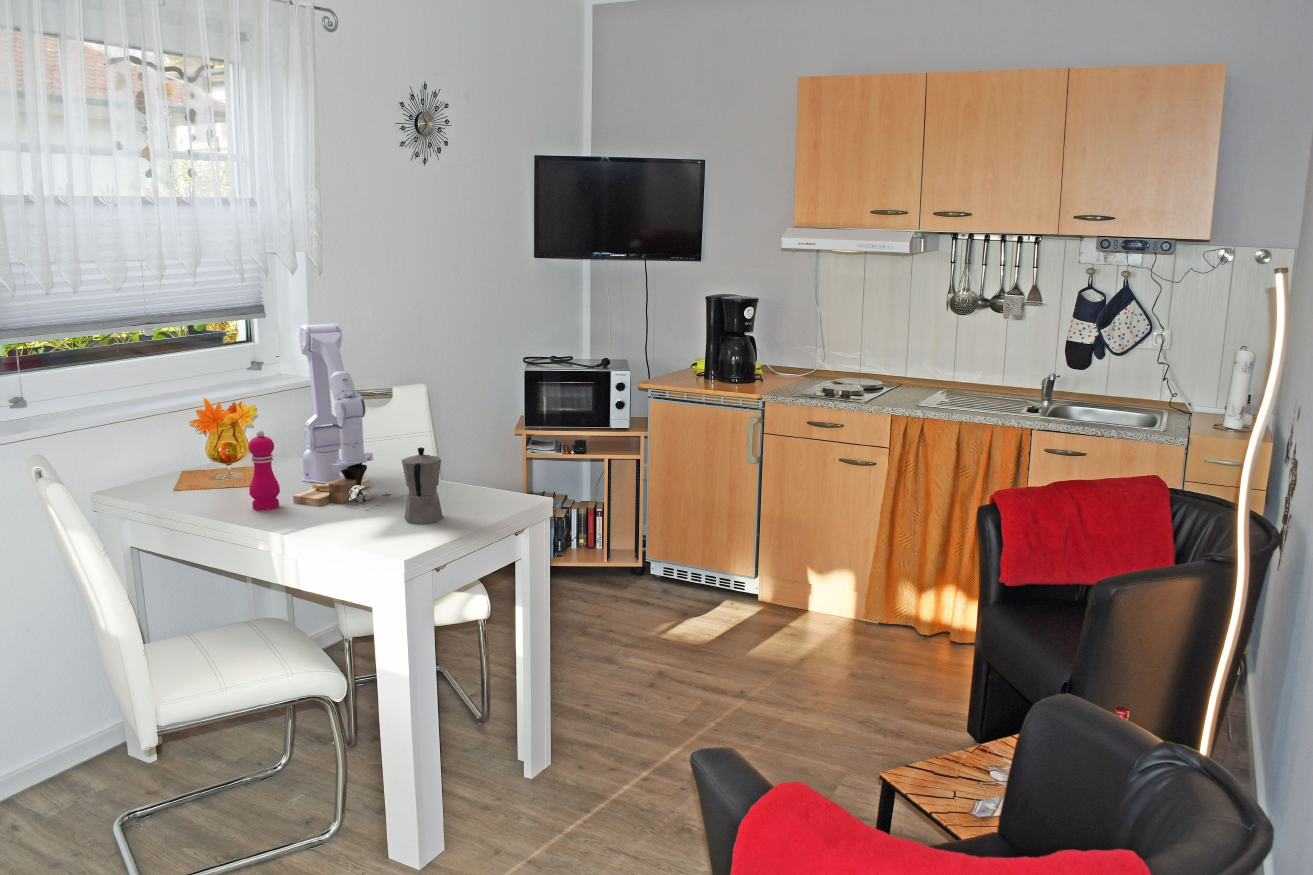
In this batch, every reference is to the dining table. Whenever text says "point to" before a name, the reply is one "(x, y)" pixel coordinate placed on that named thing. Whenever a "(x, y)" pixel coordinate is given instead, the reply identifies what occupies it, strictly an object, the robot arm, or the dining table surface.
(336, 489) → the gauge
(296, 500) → the board
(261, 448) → the pepper mill
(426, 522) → the coffeepot
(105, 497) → the dining table surface
